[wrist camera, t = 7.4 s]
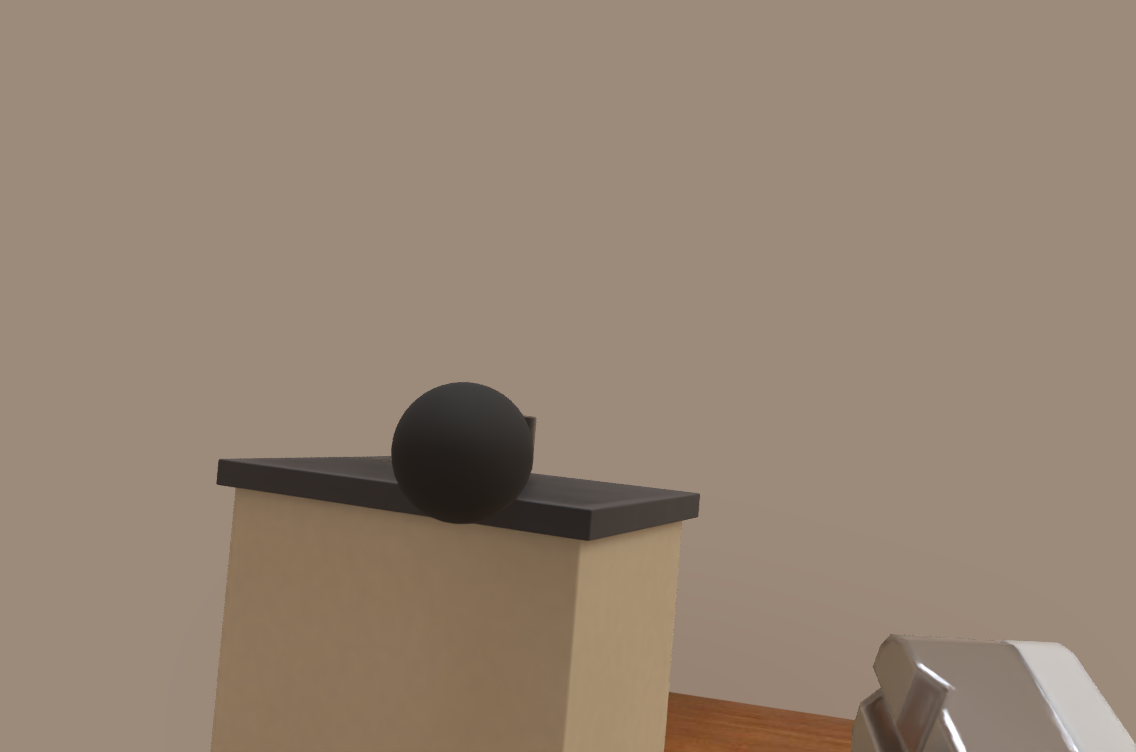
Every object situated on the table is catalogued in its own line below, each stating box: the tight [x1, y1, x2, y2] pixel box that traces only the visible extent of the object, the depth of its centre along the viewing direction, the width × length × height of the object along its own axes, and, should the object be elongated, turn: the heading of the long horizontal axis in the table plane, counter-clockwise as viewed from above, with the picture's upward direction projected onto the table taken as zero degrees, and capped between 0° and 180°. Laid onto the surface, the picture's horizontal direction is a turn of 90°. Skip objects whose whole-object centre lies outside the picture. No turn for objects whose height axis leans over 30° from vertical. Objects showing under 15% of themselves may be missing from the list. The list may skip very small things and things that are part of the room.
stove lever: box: [391, 382, 536, 524], centre depth 24 cm, size 17×4×3 cm, turn 4°
